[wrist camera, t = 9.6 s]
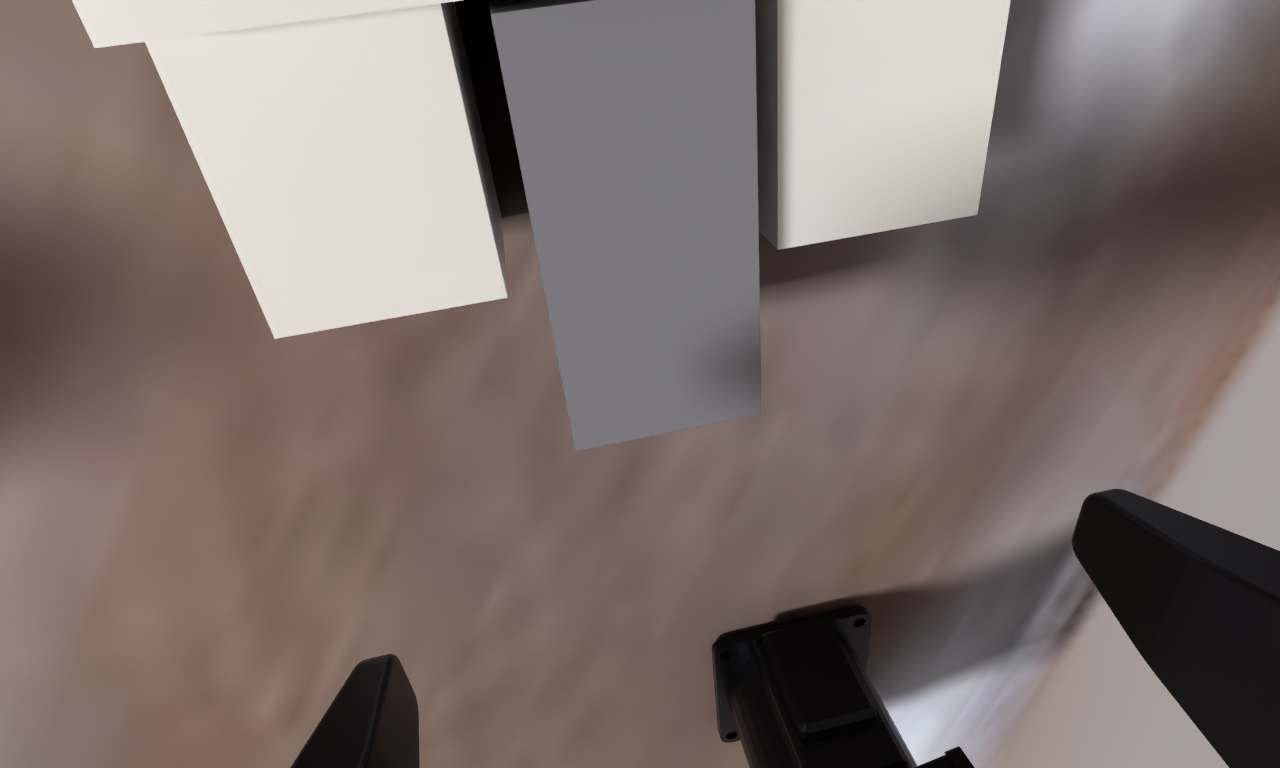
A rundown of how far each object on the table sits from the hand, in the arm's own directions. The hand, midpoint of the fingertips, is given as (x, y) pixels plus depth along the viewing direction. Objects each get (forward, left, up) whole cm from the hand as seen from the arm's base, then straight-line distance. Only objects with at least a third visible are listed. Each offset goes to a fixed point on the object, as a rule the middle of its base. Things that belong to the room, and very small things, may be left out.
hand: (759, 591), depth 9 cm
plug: (+2, 0, -12) cm, 12 cm away
